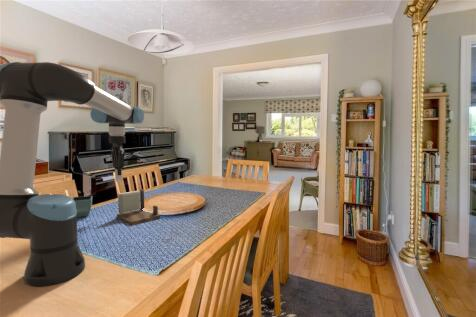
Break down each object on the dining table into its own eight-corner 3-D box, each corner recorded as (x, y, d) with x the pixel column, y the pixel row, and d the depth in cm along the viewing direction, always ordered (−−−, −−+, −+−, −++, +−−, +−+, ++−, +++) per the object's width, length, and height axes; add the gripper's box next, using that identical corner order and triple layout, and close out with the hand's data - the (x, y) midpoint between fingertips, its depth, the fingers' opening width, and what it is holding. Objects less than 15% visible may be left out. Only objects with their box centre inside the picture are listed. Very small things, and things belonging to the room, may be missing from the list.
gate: (138, 208, 139) (138, 190, 138) (140, 209, 137) (139, 191, 136) (118, 212, 131) (118, 193, 130) (120, 213, 130) (119, 194, 129)
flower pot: (73, 213, 135) (73, 196, 135) (93, 212, 139) (92, 195, 138) (71, 219, 127) (70, 201, 127) (91, 217, 131) (91, 199, 130)
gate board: (130, 225, 121) (130, 198, 120) (116, 217, 132) (116, 192, 131) (160, 218, 132) (160, 193, 130) (145, 210, 143) (144, 188, 141)
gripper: (130, 135, 131) (131, 182, 134) (119, 135, 140) (120, 178, 143) (114, 135, 126) (116, 184, 128) (104, 135, 135) (106, 180, 137)
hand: (118, 181), depth 136 cm, fingers closed
